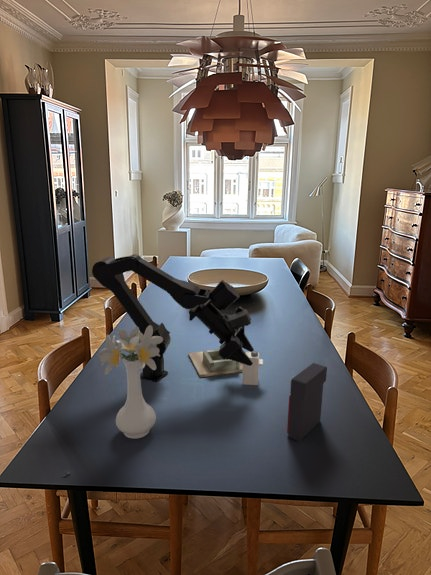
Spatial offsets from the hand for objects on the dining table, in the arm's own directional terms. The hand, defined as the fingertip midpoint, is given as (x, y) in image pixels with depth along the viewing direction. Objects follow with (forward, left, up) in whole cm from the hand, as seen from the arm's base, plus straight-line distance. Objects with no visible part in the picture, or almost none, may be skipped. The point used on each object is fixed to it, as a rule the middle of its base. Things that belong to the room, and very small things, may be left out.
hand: (252, 357), depth 120 cm
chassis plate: (+6, +14, -8) cm, 17 cm away
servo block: (0, 0, -8) cm, 8 cm away
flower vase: (-35, +14, -8) cm, 39 cm away
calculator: (-15, -21, -8) cm, 27 cm away
